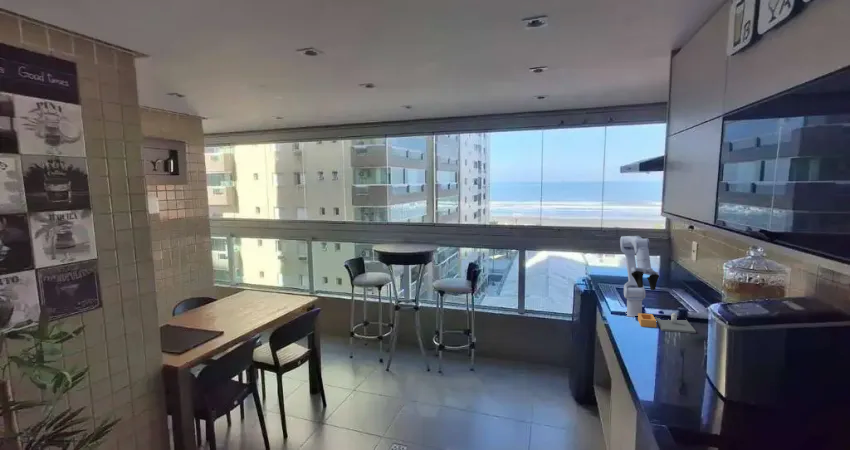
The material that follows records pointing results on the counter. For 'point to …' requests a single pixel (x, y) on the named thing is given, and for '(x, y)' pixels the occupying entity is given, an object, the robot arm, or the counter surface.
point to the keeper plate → (675, 325)
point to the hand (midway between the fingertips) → (646, 288)
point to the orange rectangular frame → (646, 320)
